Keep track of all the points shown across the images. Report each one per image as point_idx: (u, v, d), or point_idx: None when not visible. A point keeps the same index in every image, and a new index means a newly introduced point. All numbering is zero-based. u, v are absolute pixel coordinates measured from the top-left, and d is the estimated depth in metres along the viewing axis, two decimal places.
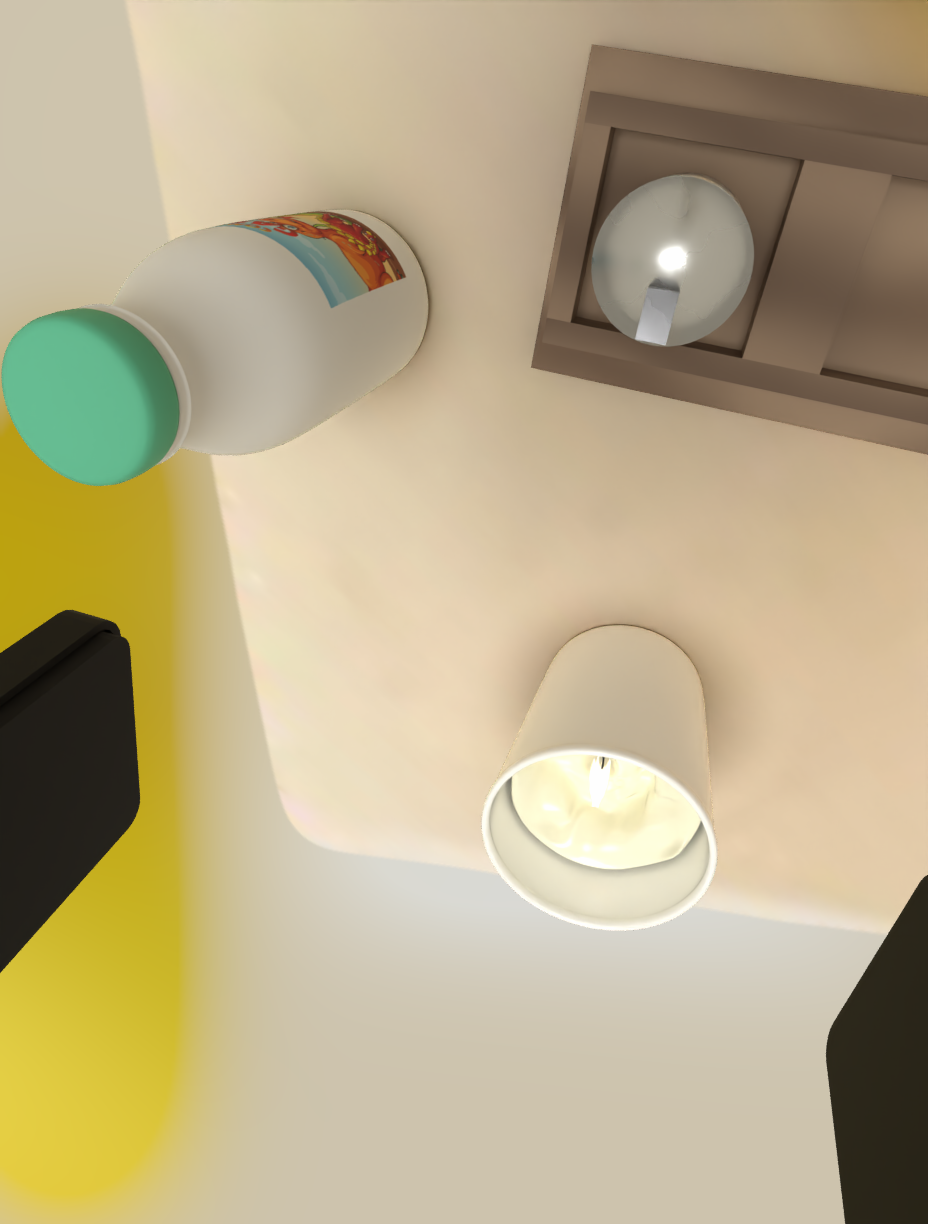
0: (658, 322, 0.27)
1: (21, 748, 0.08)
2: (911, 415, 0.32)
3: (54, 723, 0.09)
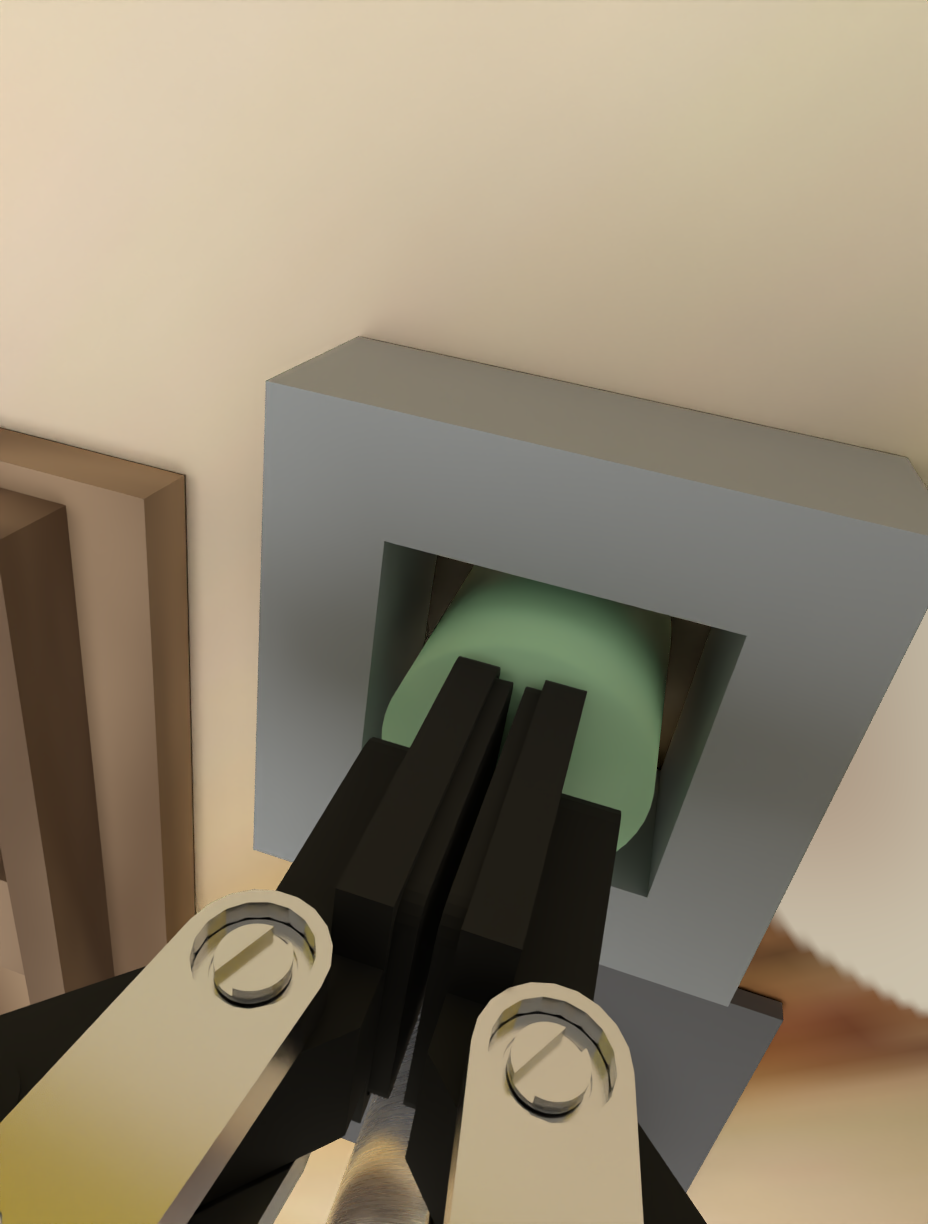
0: None
1: (473, 795, 0.09)
2: None
3: (483, 769, 0.09)
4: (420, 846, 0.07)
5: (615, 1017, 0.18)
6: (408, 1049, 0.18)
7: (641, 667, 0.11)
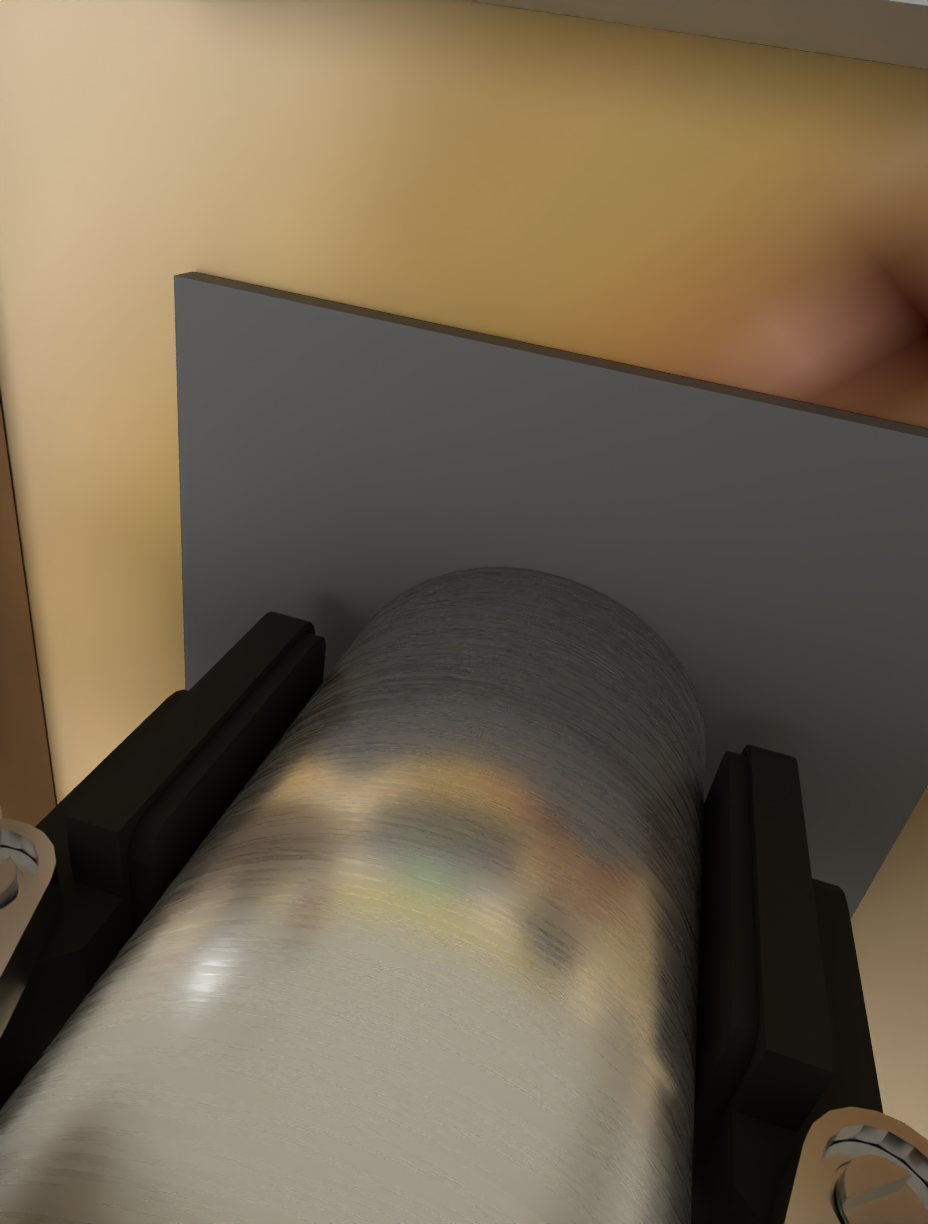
0: None
1: (257, 740, 0.09)
2: None
3: (277, 717, 0.09)
4: (168, 780, 0.08)
5: (745, 545, 0.09)
6: (364, 636, 0.10)
7: None
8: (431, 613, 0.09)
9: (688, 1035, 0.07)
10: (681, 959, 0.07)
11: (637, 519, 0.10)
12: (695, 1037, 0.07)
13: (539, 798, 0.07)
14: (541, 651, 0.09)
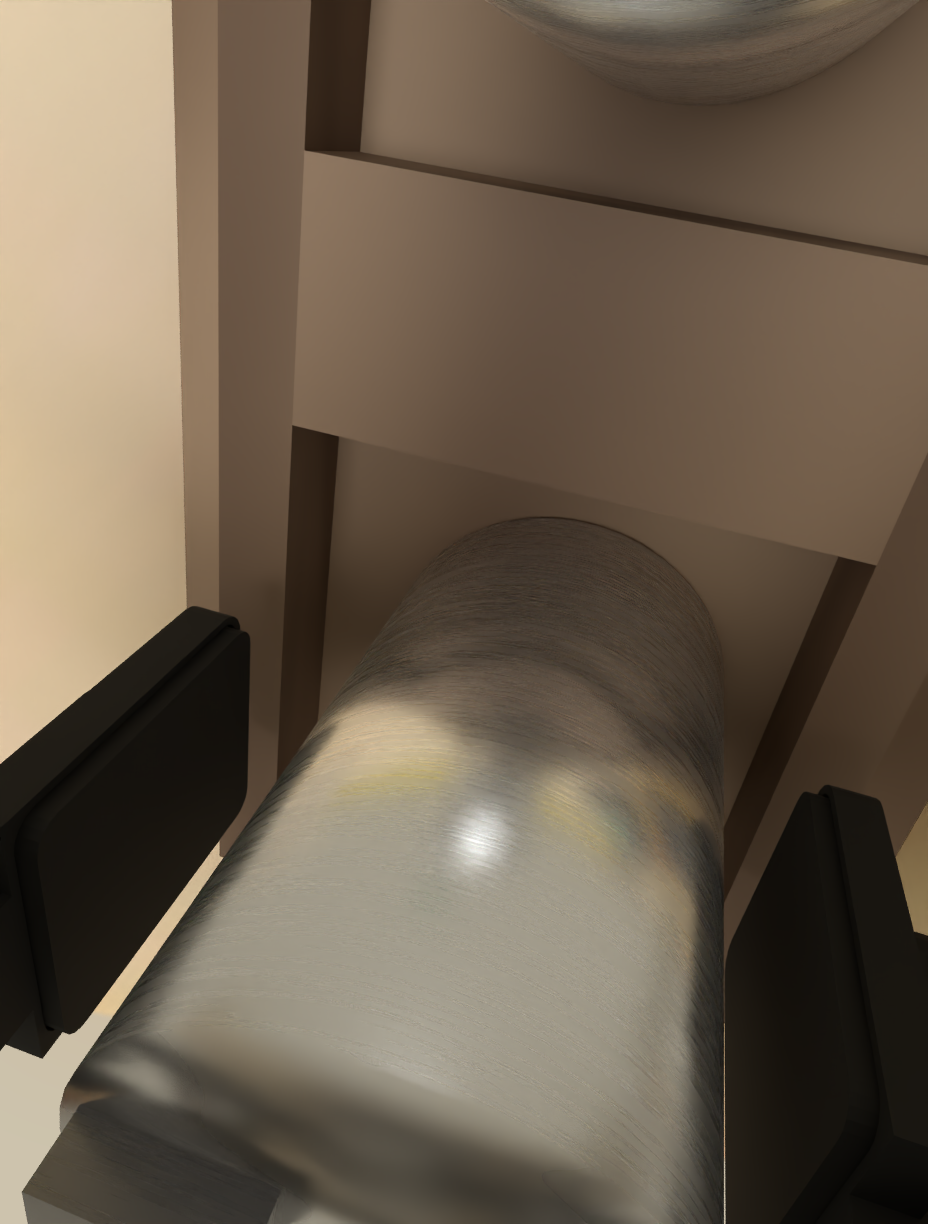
0: None
1: (168, 736, 0.09)
2: None
3: (192, 712, 0.09)
4: (60, 776, 0.07)
5: None
6: (427, 576, 0.11)
7: None
8: (489, 554, 0.11)
9: (719, 886, 0.08)
10: (713, 829, 0.08)
11: None
12: (723, 893, 0.08)
13: (598, 693, 0.08)
14: (589, 584, 0.10)
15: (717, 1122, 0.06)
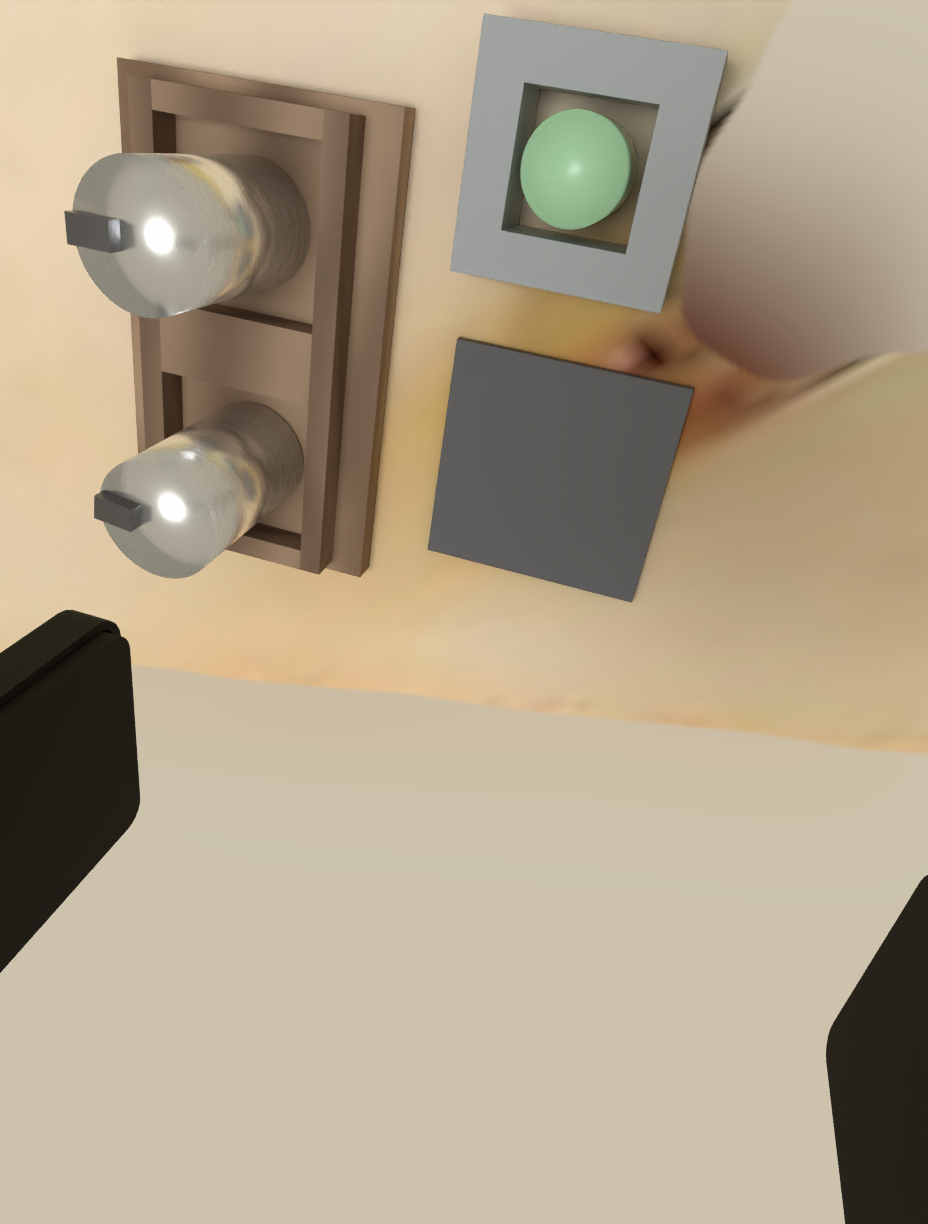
0: (83, 234, 0.27)
1: (21, 748, 0.08)
2: None
3: (54, 724, 0.09)
4: None
5: (612, 411, 0.35)
6: None
7: (621, 134, 0.28)
8: (222, 409, 0.37)
9: (252, 480, 0.35)
10: (256, 470, 0.35)
11: (583, 405, 0.35)
12: (257, 485, 0.35)
13: (228, 435, 0.35)
14: (244, 416, 0.37)
15: (223, 500, 0.33)
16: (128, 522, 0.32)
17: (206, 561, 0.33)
